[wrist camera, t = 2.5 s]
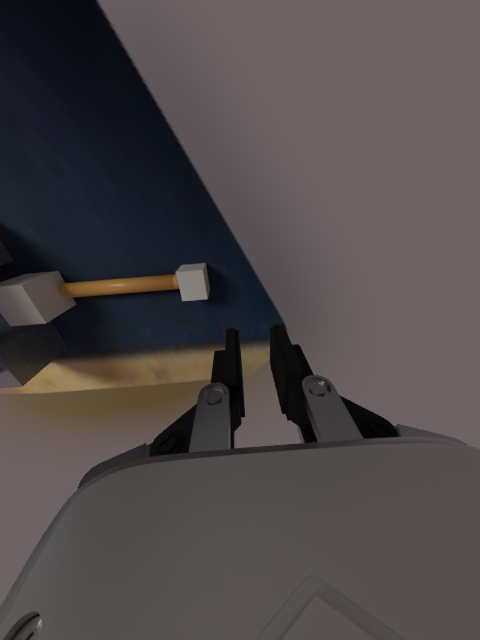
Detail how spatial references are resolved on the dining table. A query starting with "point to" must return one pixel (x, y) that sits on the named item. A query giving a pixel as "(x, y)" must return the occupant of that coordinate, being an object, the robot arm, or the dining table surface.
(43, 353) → the cylinder
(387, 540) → the robot arm
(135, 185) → the dining table surface
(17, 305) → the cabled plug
